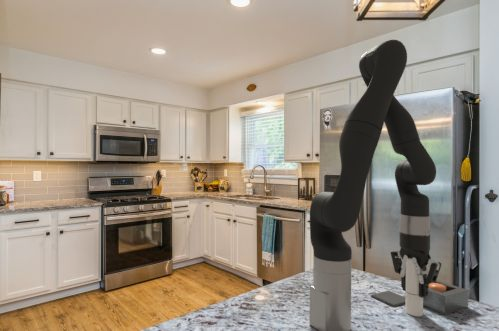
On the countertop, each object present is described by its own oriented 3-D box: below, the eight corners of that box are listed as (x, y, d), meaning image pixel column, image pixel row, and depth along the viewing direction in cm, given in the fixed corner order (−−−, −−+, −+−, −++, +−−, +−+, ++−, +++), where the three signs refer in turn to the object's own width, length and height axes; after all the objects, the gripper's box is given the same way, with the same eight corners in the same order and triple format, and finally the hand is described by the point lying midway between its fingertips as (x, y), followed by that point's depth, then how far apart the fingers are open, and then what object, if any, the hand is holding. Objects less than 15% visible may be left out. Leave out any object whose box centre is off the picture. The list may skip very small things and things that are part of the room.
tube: (425, 317, 83) (425, 260, 83) (408, 315, 84) (408, 259, 84) (419, 310, 87) (420, 256, 87) (403, 308, 88) (403, 255, 88)
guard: (444, 314, 84) (444, 296, 85) (408, 299, 94) (408, 283, 94) (467, 307, 89) (467, 290, 90) (430, 293, 99) (430, 278, 99)
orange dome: (440, 296, 89) (440, 289, 89) (425, 290, 93) (425, 284, 93) (449, 293, 91) (449, 286, 91) (434, 288, 95) (434, 282, 95)
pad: (393, 306, 89) (393, 304, 89) (371, 296, 96) (371, 294, 96) (411, 301, 93) (411, 299, 93) (388, 292, 100) (388, 290, 100)
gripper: (383, 228, 91) (383, 287, 90) (431, 237, 78) (431, 306, 77) (400, 226, 94) (400, 283, 94) (449, 235, 81) (449, 301, 81)
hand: (414, 293), depth 86 cm, fingers closed on tube, 4 cm apart
